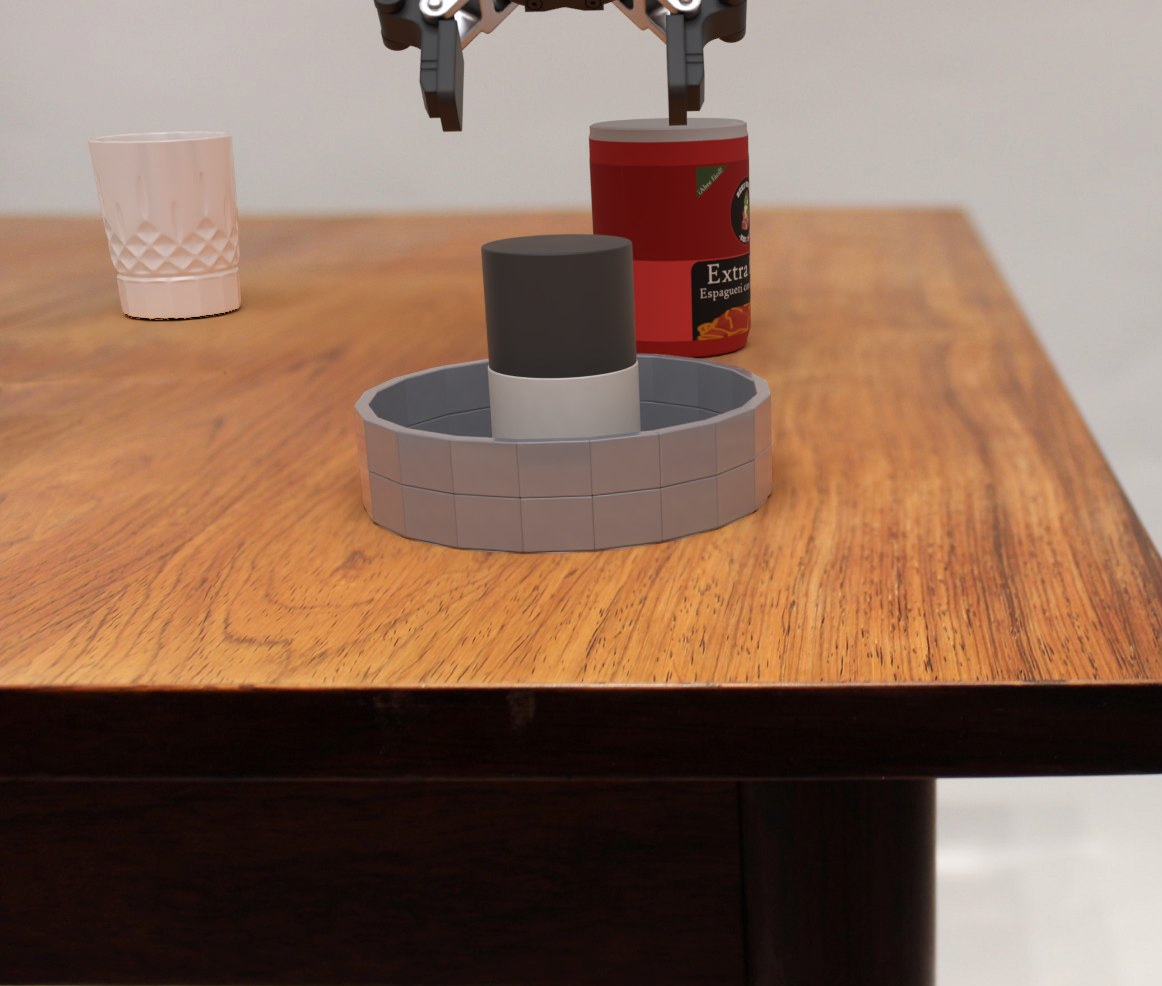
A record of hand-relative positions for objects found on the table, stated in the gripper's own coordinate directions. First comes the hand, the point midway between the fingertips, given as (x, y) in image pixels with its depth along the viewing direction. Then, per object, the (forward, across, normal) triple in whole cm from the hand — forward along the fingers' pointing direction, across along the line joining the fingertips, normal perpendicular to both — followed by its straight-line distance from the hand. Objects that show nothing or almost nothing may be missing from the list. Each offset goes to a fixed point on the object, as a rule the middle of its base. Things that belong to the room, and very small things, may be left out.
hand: (563, 114), depth 63 cm
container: (+15, 0, -2) cm, 15 cm away
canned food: (-5, -4, -23) cm, 24 cm away
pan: (+15, 0, -3) cm, 15 cm away
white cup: (-16, +25, -34) cm, 45 cm away
